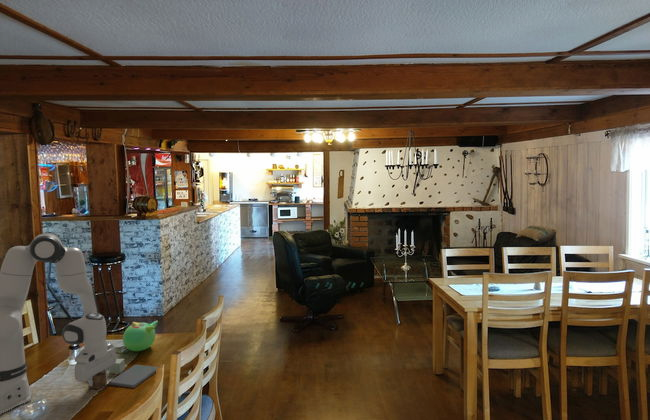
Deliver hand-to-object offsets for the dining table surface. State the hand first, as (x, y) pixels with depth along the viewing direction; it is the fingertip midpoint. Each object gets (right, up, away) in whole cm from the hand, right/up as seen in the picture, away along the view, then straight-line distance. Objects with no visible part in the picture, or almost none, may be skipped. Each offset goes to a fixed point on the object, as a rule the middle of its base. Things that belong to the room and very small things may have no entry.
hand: (97, 381), depth 193 cm
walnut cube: (0, -2, 0) cm, 2 cm away
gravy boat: (+2, +1, +40) cm, 40 cm away
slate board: (+13, -1, +9) cm, 15 cm away
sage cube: (+2, -1, +15) cm, 15 cm away
